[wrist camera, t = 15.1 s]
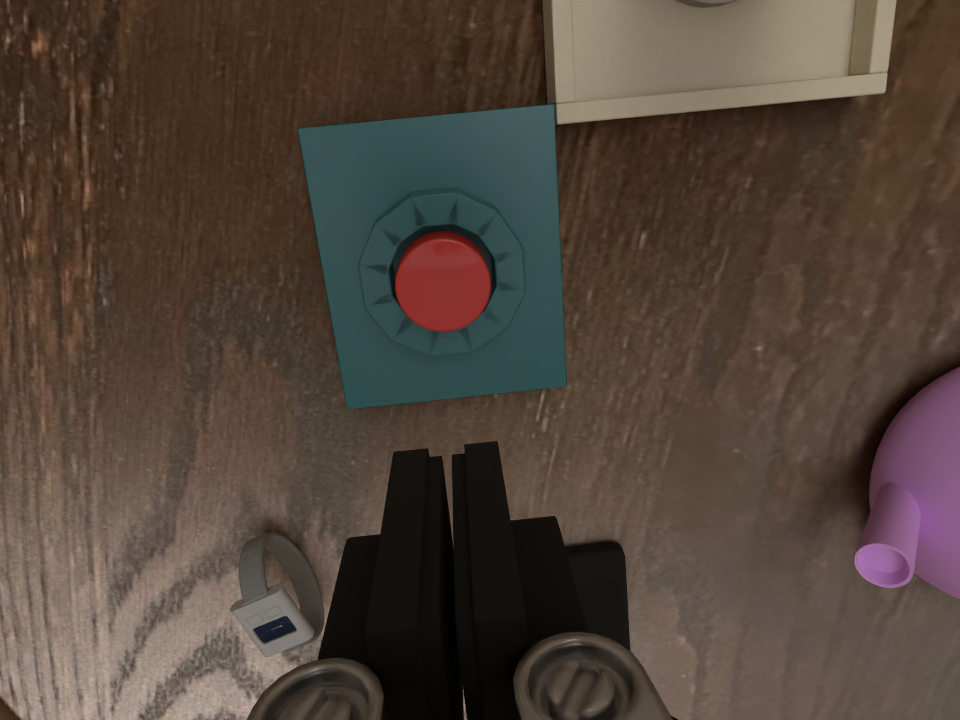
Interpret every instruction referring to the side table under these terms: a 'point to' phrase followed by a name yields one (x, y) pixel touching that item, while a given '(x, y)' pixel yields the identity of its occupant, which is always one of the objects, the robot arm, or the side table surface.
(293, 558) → the wristwatch
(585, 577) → the cell phone
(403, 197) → the block
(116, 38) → the side table surface
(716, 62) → the tray
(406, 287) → the button
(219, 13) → the side table surface
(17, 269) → the side table surface
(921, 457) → the teapot
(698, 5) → the travel mug
